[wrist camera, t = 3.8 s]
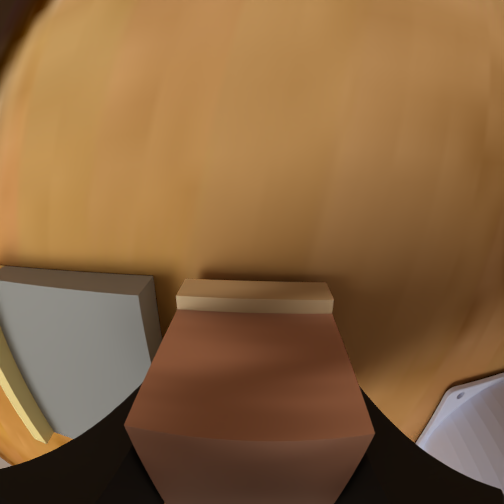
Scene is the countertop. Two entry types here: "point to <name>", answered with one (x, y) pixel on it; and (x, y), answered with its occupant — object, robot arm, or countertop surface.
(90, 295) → the dock
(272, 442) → the brown rectangular block
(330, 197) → the countertop surface
